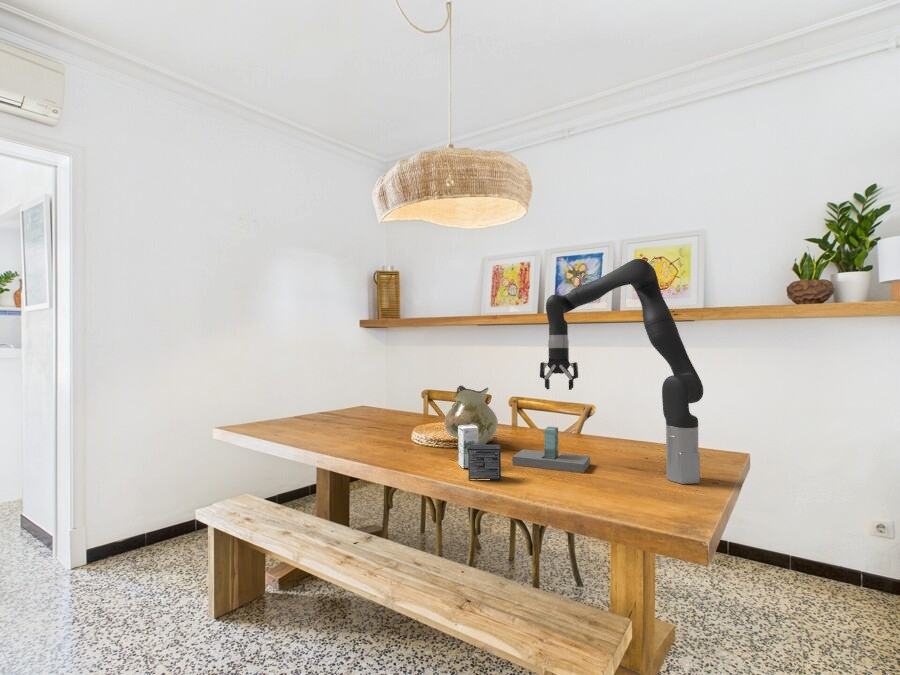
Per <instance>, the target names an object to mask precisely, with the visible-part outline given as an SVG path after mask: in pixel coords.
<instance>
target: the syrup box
mask: <svg viewBox="0 0 900 675" xmlns="http://www.w3.org/2000/svg"><path fill="white" fill-rule="evenodd" d="M469 445H478V427H477V426H475V425H459V426H458V446H457V454H458V455H457V465H458V466H459V465H460V466H461V467H460V466H459V467H460V468H461V469H463V468H468V469H469V467H468V446H469Z"/></svg>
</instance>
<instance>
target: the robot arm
mask: <svg viewBox="0 0 900 675" xmlns="http://www.w3.org/2000/svg"><path fill="white" fill-rule="evenodd" d="M628 285H631V286H632V288H633V289H634V291H635V292H636V295H637V297H638V299H639V302H640V304H641V305H640V306H641V311H642V319H643V320H642V321H643V325H644V329H645V331H646V335H647V337H648V339H649V342H650V344H651V345H652V346H653V348H654V349H655V350H656V351H657V352H658V353H659V354H660V356H662V358H663V359H664V360H665V361H666V362H667V364H668V366H669V368H670V369H671V372H672V374H673V375H670V376H667V377H666V378H665V379H664V381H663V382H662V387H661V399H662V413H663V417H664V419H665V445H666V446H665V451H666V452H665V454H666V455H665V456H666V460H665V462H666V466H665V467H666V474H665V475H666V479H667V480H668V481H670V482H674V483H677V484H679V485H680V484H681V485H689V484H690V485H691V484H694V485H695V484H701V458H700V457H701V454H700V452H699V419H698V417H697V416H696V415H694V414H692V413H691V412H690V404H695V403H698V402H700V401H701V400H702V398H703V395H704V386H703V383H702V380H701V378H700V377H699V375H698V373H697V370H696V369H695V367H694V364H693V363H692V361H691V359H690V357H689V354H688V352H687V350H686V347H685V345H684V342H683V341H682V338H681V335H680V332H679V330H678V327H677V324H676V321H675V319H674V318H673V315H672V313H671V311H670V309H669V308H670V307H669V306H668V304H667V303H666V301H665V298H664V296H663V295H662V294H663V293H662V291H661V288H660V284H659V279H658V275H657V272H656V270H655V267H653V266H652V265H651V263H650V262H649V261H648V260H645V259H643V258H634V259H632V260H630V261H628V262H627V263H624V264H623V265H621V266H619V267H617V268H616V269H614V270H612V271H609V273H607V274H605V275H603V276H601V277H598V278H596V279H594V280H591V281H590V282H587V283H585V284H581V285H580V286H577V287H574V288H572V289H571V290H570V292H568V293H566V294H563V295H559V294H551V295H550V296H548V298H547V299H546V303H545V312H546V316H547V321H548V345H547V347H548V362H545V361H542V362H540V364H539V365H540V367H539V378H541V379H543V380H544V388H545V389H546V390H550V389H551V388H550V385H551V384H550V378H551V376H552V375H553V374H561V375H562V374H565V376H566V377H567V378H568V379H569V380H568V390H569V391H572V389H574V380H575V379H578V378H579V367H578V362H577V361H576V362H575V361H574V362H570V361H569V360H570V355H569V354H570V352H569V350H570V348H569V344H570V343H569V342H570V341H569V338H568V337H569V334H568V333H569V330H568V328H569V327H568V322H567V320H566V319H565V316H564V315H565V314H566V313H569V312H571V311H573V310H574V309H576V308H579V307H580V306H584V305H586V304H590V303H593V302H595V301H596V300H599V299H600V298H602V297H603V296H605V295H606V294H608V293H609V292H611V291H613V290H615V289H618V288H621V287H623V286H628ZM570 367H571V369H572V370H573V374H572V373H571V372H570V370H569V368H570ZM546 368H549V370H548V371H547V373H546V372H545V370H546ZM545 373H546V374H545Z"/></svg>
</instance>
